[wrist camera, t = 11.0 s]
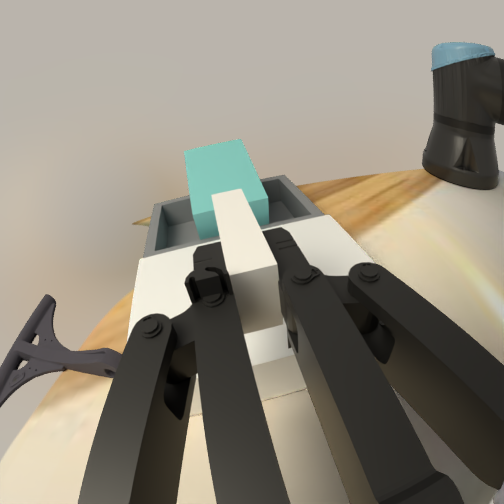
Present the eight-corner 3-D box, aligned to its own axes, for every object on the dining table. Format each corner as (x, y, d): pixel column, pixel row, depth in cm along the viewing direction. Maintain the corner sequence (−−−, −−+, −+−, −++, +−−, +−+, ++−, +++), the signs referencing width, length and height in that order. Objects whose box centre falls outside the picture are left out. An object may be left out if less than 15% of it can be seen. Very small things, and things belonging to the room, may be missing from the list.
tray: (286, 200, 36) (284, 174, 34) (326, 250, 26) (326, 217, 24) (162, 229, 35) (154, 204, 33) (156, 291, 25) (142, 260, 23)
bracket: (107, 466, 12) (82, 451, 11) (-8, 409, 14) (-28, 391, 13) (161, 309, 24) (150, 284, 22) (50, 306, 26) (38, 287, 24)
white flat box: (328, 253, 26) (329, 214, 24) (399, 352, 16) (415, 310, 14) (155, 295, 24) (139, 258, 22) (153, 420, 14) (122, 389, 12)
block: (270, 246, 27) (245, 182, 33) (268, 197, 22) (240, 138, 28) (207, 261, 26) (195, 194, 33) (192, 214, 22) (184, 151, 28)
